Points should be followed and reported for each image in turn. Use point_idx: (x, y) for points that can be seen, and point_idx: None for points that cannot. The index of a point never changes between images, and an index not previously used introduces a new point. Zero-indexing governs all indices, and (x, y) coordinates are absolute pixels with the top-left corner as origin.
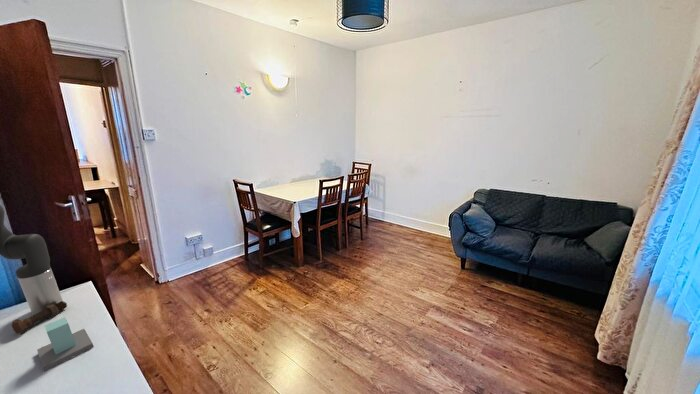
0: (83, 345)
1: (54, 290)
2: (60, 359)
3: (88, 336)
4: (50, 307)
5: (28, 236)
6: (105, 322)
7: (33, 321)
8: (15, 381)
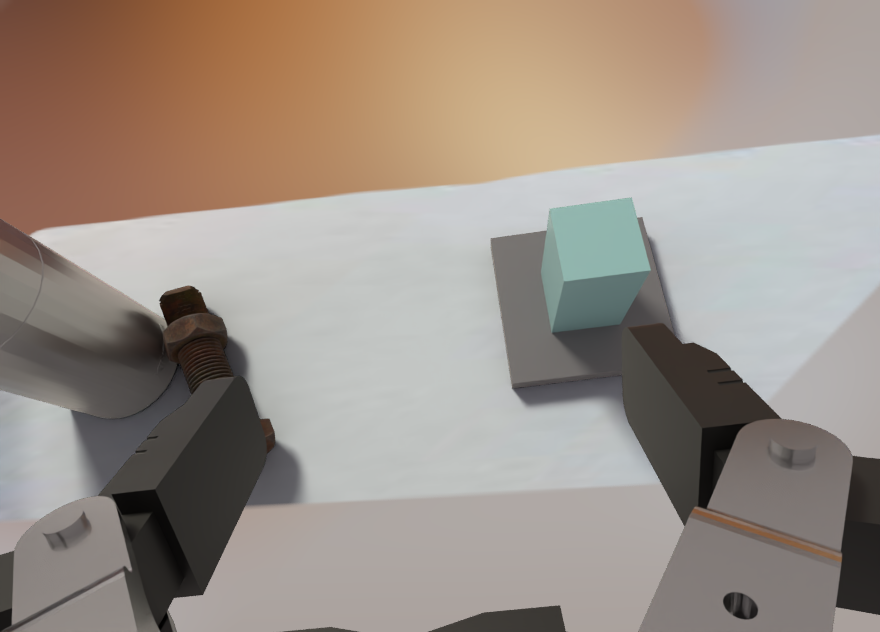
0: None
1: (100, 280)
2: (666, 312)
3: None
4: (198, 328)
5: None
6: (479, 188)
7: None
8: None
